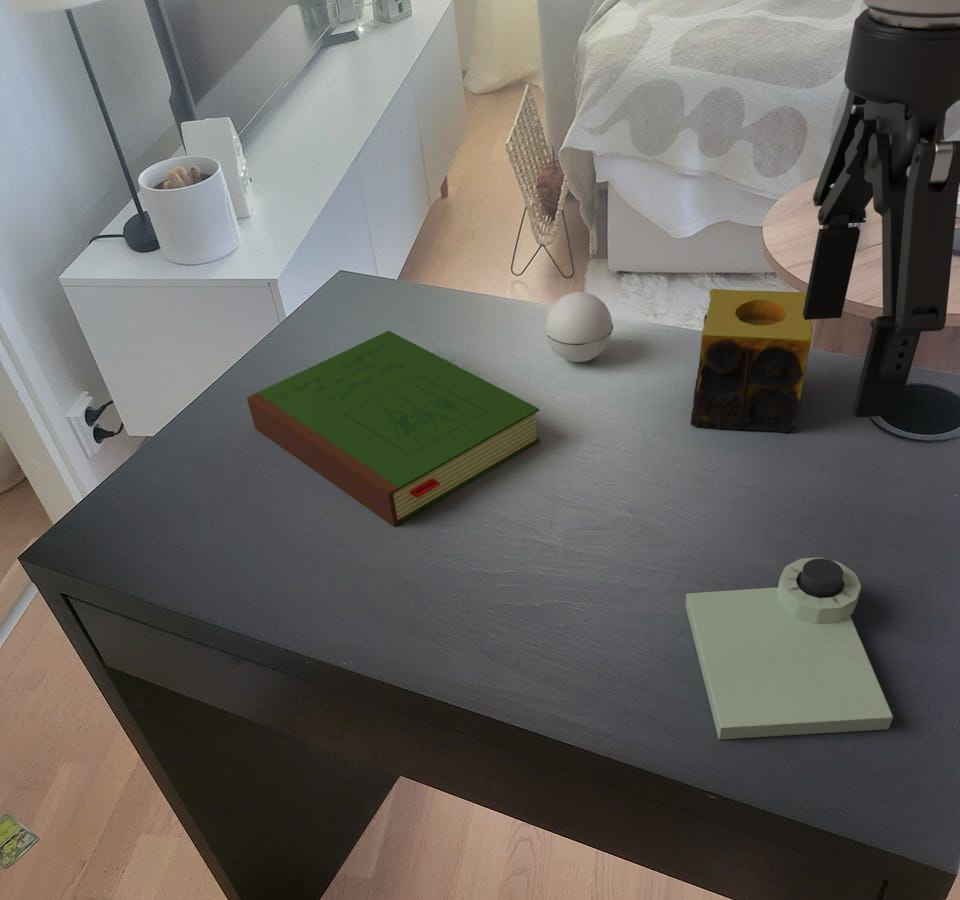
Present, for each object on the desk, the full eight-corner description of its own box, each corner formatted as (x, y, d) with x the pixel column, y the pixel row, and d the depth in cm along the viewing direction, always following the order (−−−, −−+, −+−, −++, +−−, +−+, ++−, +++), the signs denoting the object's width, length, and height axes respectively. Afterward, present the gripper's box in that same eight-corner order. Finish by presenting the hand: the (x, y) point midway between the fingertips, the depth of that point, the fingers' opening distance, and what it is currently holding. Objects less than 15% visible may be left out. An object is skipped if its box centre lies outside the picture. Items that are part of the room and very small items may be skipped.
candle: (689, 428, 95) (698, 336, 88) (697, 376, 102) (706, 286, 95) (795, 435, 93) (813, 341, 86) (796, 381, 100) (813, 290, 92)
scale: (840, 582, 78) (847, 554, 76) (902, 728, 67) (913, 701, 65) (682, 593, 78) (684, 566, 76) (718, 740, 68) (723, 713, 65)
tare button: (833, 571, 75) (837, 556, 74) (844, 597, 73) (848, 582, 72) (795, 574, 75) (798, 559, 74) (805, 600, 73) (808, 585, 72)
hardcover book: (255, 428, 101) (246, 397, 98) (393, 360, 109) (388, 330, 106) (399, 530, 87) (393, 497, 84) (545, 443, 95) (544, 411, 92)
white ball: (532, 361, 107) (529, 299, 101) (575, 335, 110) (575, 273, 105) (600, 390, 101) (601, 326, 96) (644, 362, 105) (647, 298, 99)
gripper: (804, -33, 61) (756, 286, 76) (936, 80, 43) (839, 466, 58) (923, -42, 61) (851, 280, 76) (1104, 69, 43) (963, 460, 58)
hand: (845, 362), depth 67 cm, fingers open, 13 cm apart
